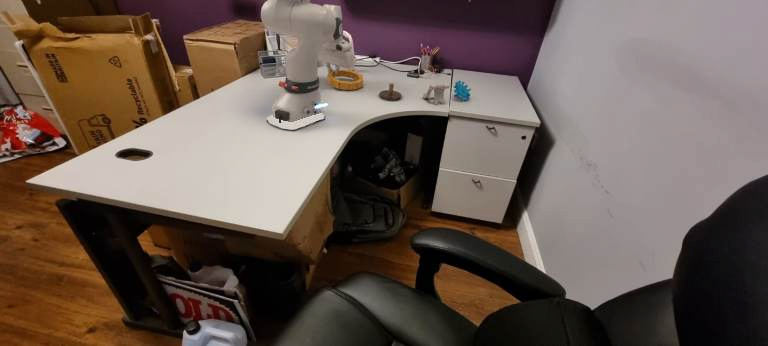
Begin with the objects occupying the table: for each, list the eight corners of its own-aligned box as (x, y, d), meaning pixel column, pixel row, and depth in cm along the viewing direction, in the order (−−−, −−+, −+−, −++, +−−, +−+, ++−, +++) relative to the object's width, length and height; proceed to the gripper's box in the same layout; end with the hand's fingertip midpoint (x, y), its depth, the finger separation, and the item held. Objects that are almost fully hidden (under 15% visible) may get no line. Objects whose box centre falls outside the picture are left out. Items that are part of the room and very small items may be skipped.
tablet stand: (439, 96, 152) (442, 79, 147) (447, 103, 146) (451, 85, 141) (422, 98, 149) (425, 80, 144) (430, 104, 143) (433, 86, 138)
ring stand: (395, 102, 142) (396, 89, 139) (375, 97, 146) (376, 84, 142) (404, 96, 149) (406, 83, 146) (385, 90, 153) (386, 78, 150)
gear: (459, 100, 146) (453, 79, 147) (450, 105, 151) (444, 85, 152) (475, 99, 152) (469, 79, 153) (466, 104, 157) (460, 85, 158)
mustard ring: (349, 93, 146) (350, 86, 144) (320, 81, 151) (320, 75, 149) (368, 83, 159) (369, 77, 157) (340, 72, 164) (341, 66, 162)
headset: (357, 71, 173) (359, 36, 163) (345, 72, 170) (345, 36, 160) (344, 60, 187) (344, 27, 177) (332, 61, 185) (332, 27, 174)
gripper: (310, 39, 149) (311, 69, 157) (346, 48, 142) (346, 79, 150) (318, 37, 154) (319, 66, 162) (354, 45, 146) (354, 76, 154)
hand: (333, 73), depth 156 cm, fingers closed on mustard ring, 2 cm apart
